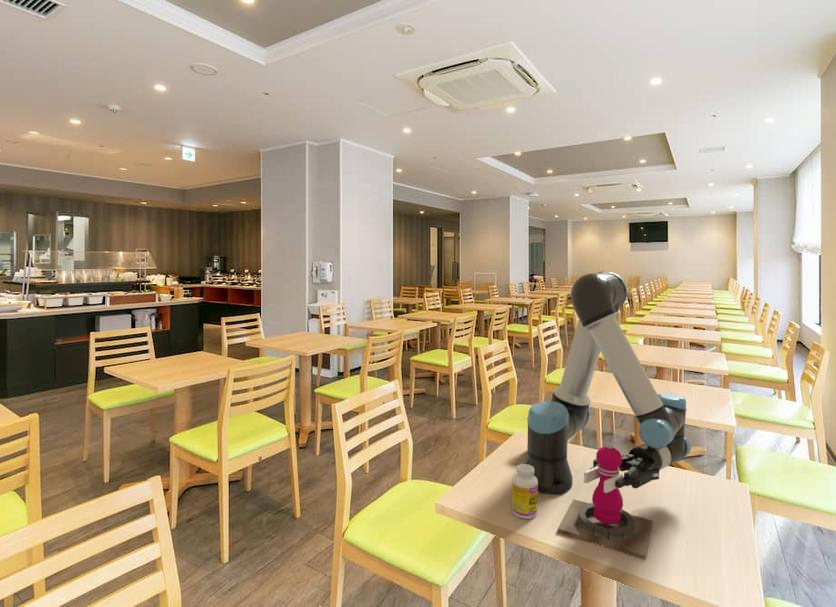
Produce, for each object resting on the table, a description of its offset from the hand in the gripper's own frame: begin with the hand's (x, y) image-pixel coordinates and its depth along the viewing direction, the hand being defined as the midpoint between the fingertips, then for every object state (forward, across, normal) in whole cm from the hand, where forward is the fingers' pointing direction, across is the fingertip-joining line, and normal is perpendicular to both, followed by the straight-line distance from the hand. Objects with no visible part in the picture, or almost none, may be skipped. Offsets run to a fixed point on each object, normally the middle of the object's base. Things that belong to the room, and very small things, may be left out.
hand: (595, 482), depth 115 cm
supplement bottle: (+7, +17, -14) cm, 23 cm away
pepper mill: (-5, 0, -11) cm, 12 cm away
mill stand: (-5, 0, -14) cm, 15 cm away
